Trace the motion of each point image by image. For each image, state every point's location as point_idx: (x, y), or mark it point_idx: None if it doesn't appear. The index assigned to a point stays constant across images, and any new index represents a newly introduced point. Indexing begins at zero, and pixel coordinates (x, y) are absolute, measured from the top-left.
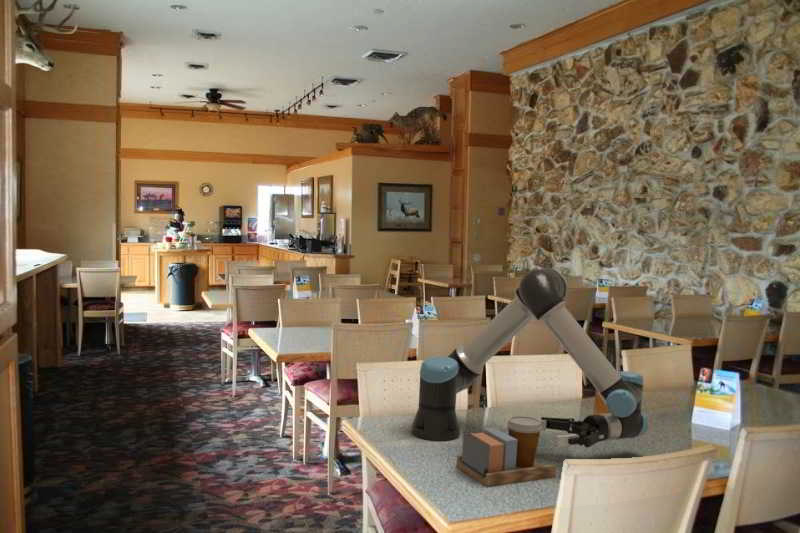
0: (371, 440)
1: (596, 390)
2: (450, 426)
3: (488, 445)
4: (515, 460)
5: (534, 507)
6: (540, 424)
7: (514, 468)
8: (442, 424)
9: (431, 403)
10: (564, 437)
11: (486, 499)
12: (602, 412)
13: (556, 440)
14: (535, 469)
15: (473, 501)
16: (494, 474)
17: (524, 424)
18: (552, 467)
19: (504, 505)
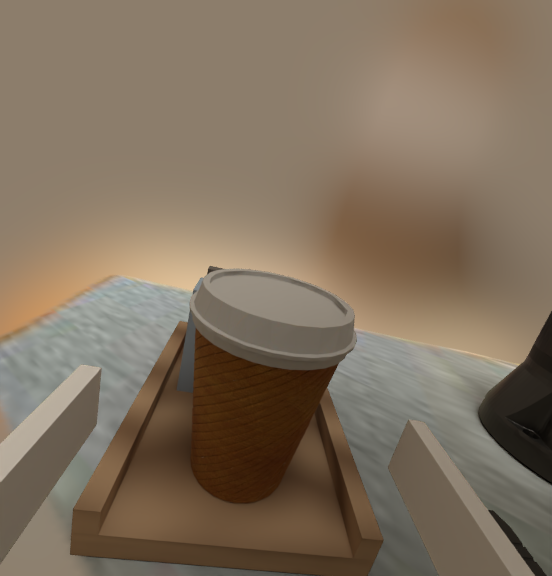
0: (436, 349)
1: None
2: (544, 428)
3: (208, 269)
4: (183, 353)
5: (16, 338)
6: (215, 305)
7: (179, 373)
8: (513, 394)
9: (538, 335)
10: (47, 406)
11: (131, 318)
12: None
13: (98, 392)
14: (128, 412)
15: (141, 307)
16: (175, 328)
17: (244, 283)
18: (85, 492)
19: (86, 318)
